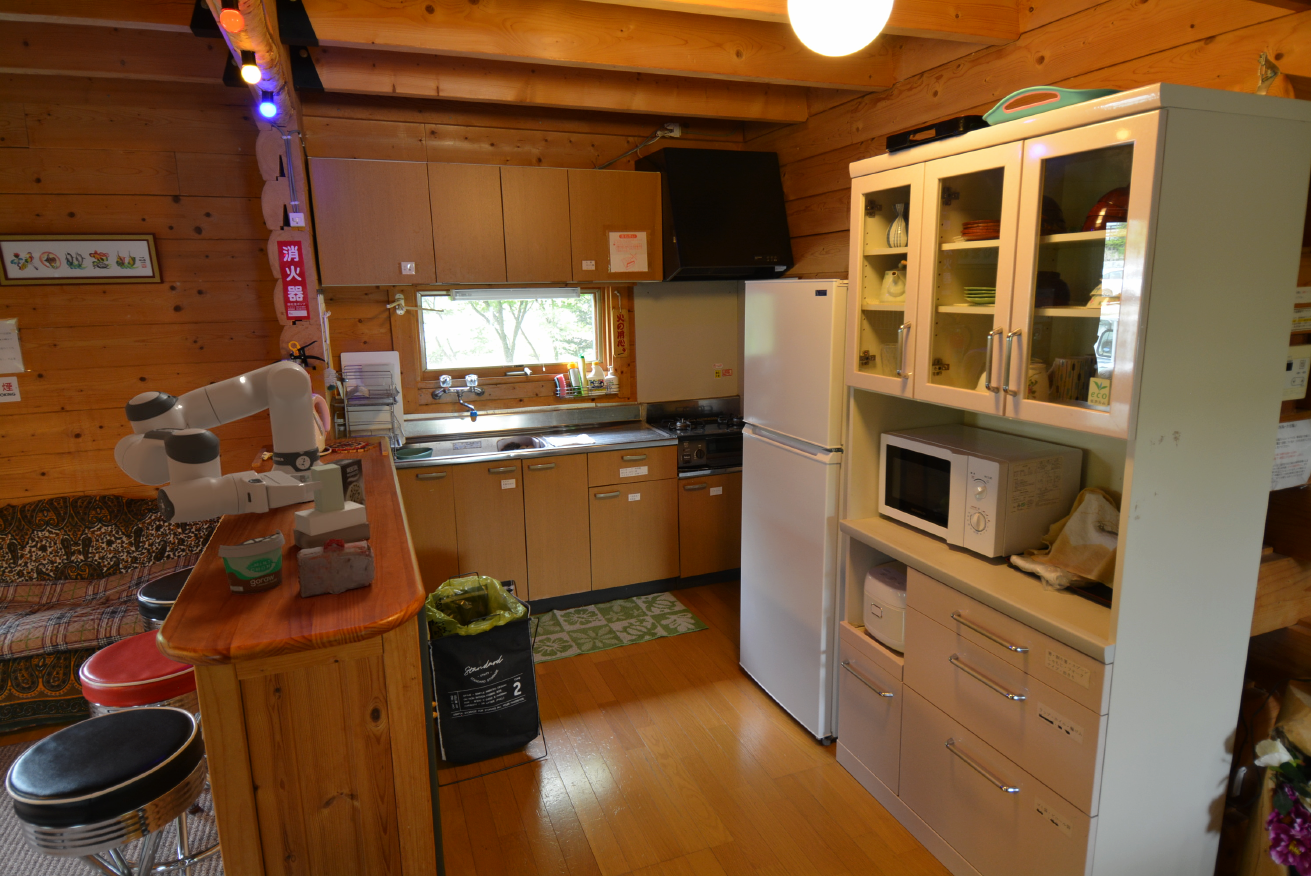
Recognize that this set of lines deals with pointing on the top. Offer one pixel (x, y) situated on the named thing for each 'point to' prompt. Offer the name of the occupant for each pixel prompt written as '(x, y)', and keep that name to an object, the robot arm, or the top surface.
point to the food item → (335, 567)
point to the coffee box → (352, 480)
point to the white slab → (330, 519)
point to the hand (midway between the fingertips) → (315, 480)
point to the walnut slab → (332, 536)
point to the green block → (328, 488)
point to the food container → (254, 564)
